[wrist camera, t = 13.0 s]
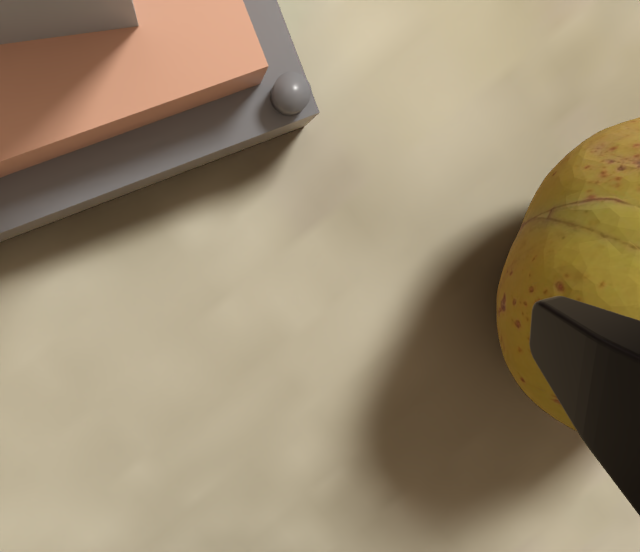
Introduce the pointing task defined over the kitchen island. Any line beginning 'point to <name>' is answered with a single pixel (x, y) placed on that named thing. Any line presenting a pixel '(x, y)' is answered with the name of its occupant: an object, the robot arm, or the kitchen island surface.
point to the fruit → (574, 248)
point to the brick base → (170, 140)
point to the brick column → (62, 18)
